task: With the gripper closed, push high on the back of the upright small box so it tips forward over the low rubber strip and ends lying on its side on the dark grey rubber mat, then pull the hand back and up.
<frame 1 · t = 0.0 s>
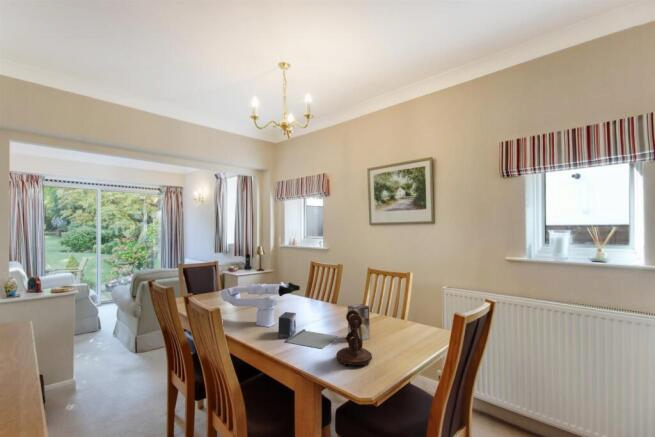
hand: (295, 289, 171), 22 cm above the table, tool horizontal, fingers open, 7 cm apart
coffee box: (358, 338, 156), on the table
brown tall round-based figurine: (354, 360, 130), on the table
small box: (287, 335, 161), on the table
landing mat: (312, 339, 154), on the table
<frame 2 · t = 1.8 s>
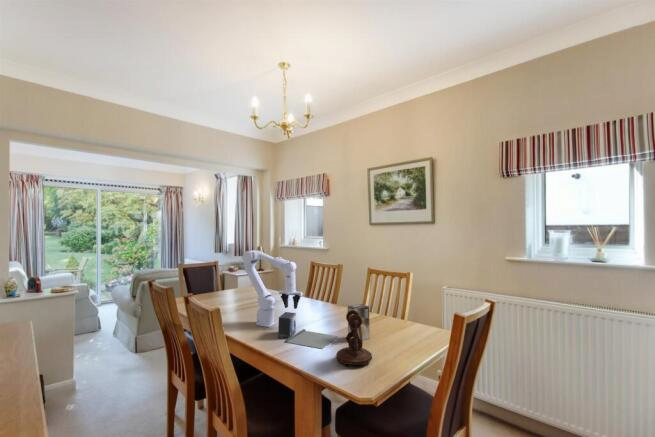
hand: (290, 308, 174), 10 cm above the table, tool pointing down, fingers open, 5 cm apart
nothing on the table moved.
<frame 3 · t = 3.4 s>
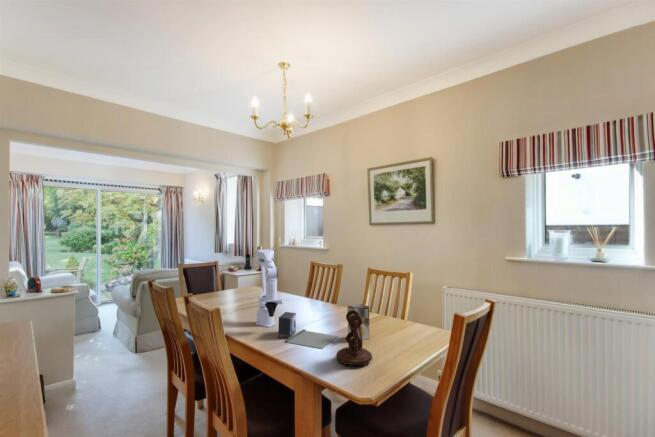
hand: (271, 316, 165), 8 cm above the table, tool pointing down, fingers closed
nothing on the table moved.
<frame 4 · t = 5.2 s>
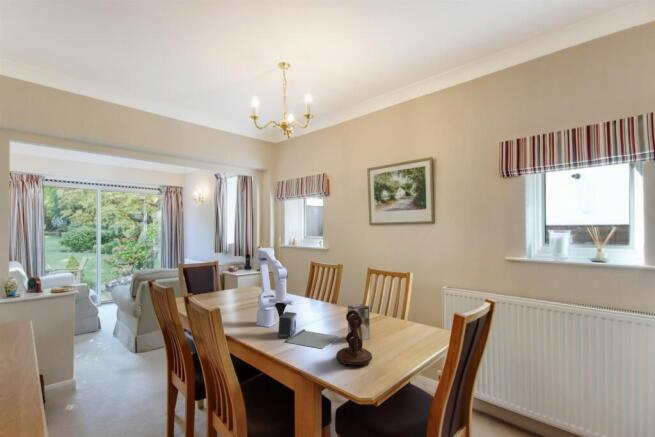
hand: (280, 317, 163), 8 cm above the table, tool pointing down, fingers closed
small box: (287, 335, 161), on the table, touching gripper
everything else where it was.
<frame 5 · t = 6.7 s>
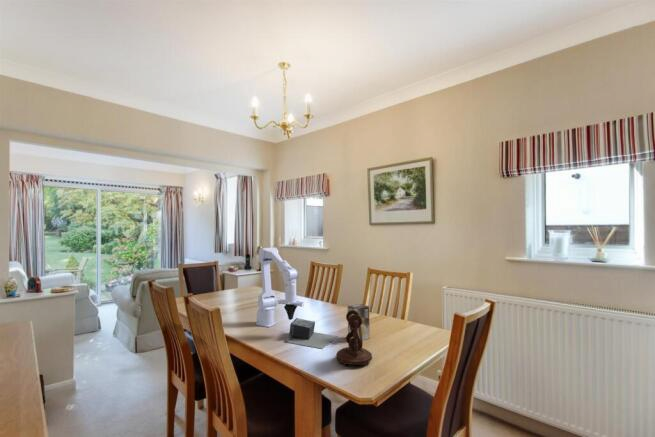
hand: (290, 319, 160), 8 cm above the table, tool pointing down, fingers closed
small box: (292, 326, 160), point 4 cm above the table, touching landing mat
everything else where it was.
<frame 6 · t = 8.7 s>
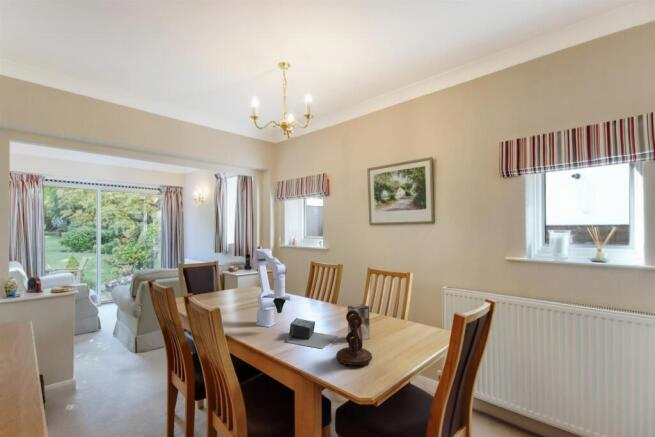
hand: (279, 312, 165), 10 cm above the table, tool pointing down, fingers closed
nothing on the table moved.
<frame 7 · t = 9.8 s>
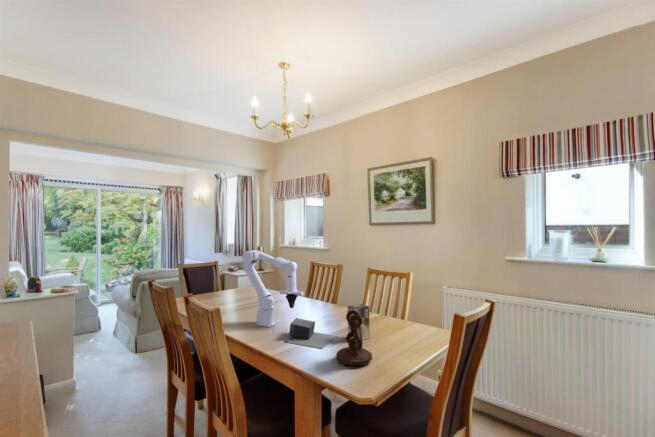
hand: (291, 307, 175), 10 cm above the table, tool pointing down, fingers closed
nothing on the table moved.
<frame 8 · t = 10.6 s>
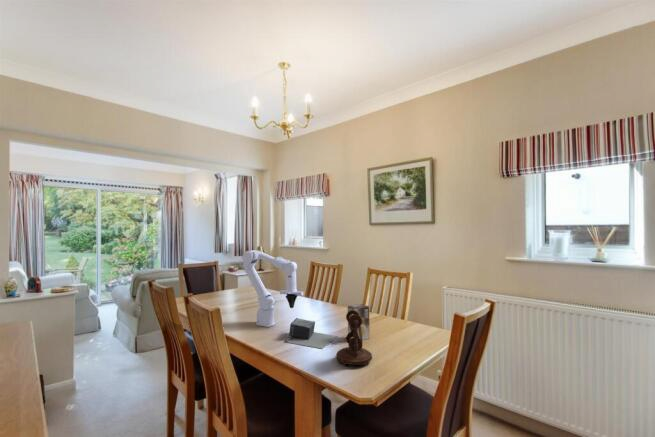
hand: (291, 307, 175), 10 cm above the table, tool pointing down, fingers closed
nothing on the table moved.
at the end: small box tilted 96°; small box inside the target area (2.8 cm from its centre), point 4.5 cm above the table; small box touching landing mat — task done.
